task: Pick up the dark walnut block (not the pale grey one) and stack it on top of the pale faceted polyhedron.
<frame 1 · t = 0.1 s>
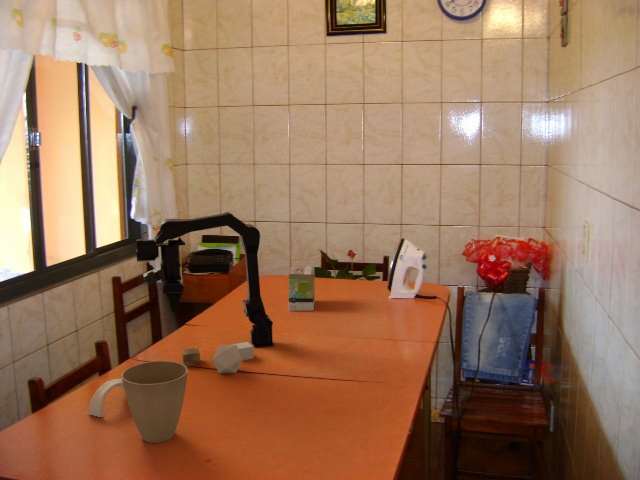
hand: (173, 308, 220), 15 cm above the table, tool pointing down, fingers open, 9 cm apart
walnut block: (191, 363, 212), on the table
pale faceted polyhedron: (228, 372, 205), on the table
grey block: (243, 357, 217), on the table
plant pot: (158, 436, 164), on the table
tea box: (302, 306, 275), on the table
white curved arch: (129, 401, 185), on the table
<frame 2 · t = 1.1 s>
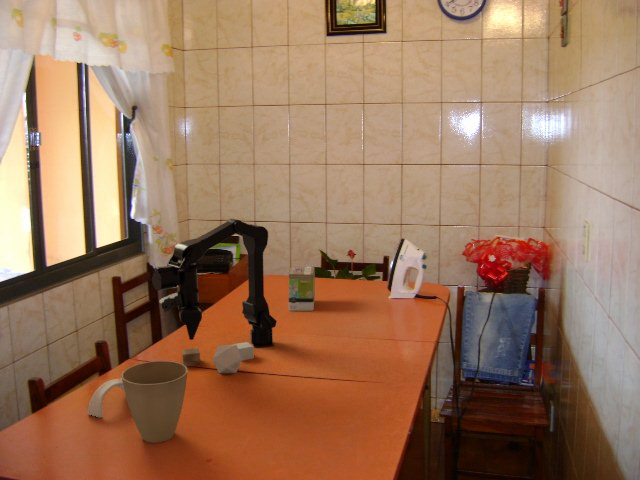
hand: (190, 335, 211), 9 cm above the table, tool pointing down, fingers open, 9 cm apart
nothing on the table moved.
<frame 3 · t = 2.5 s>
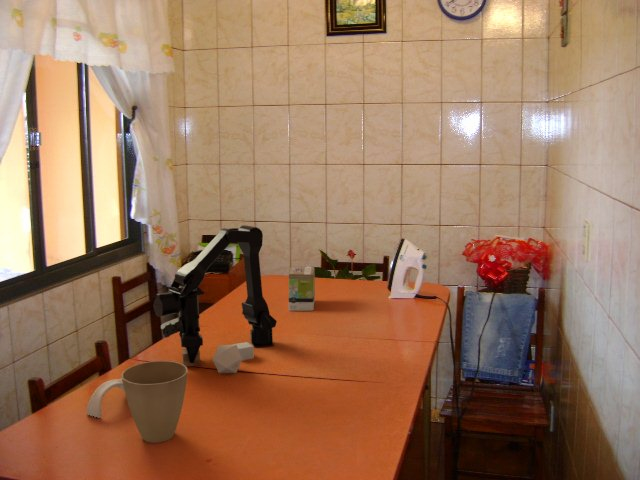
hand: (191, 359, 212), 1 cm above the table, tool pointing down, fingers closed on walnut block, 5 cm apart
walnut block: (191, 363, 212), on the table, touching gripper
everything else where it was.
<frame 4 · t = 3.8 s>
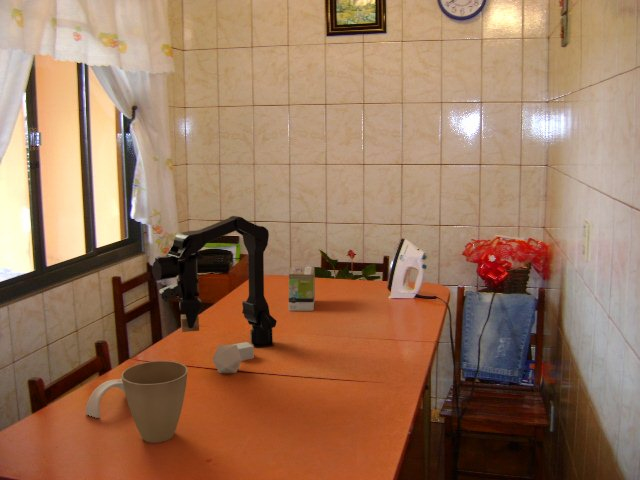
hand: (190, 325, 210), 12 cm above the table, tool pointing down, fingers closed on walnut block, 5 cm apart
walnut block: (190, 328, 210), point 11 cm above the table, touching gripper
everything else where it was.
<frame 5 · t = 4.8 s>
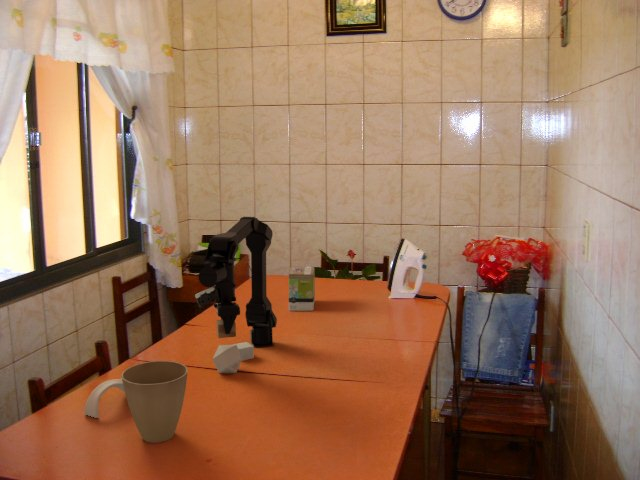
hand: (226, 331, 203), 12 cm above the table, tool pointing down, fingers closed on walnut block, 5 cm apart
walnut block: (226, 334, 203), point 11 cm above the table, touching gripper
everything else where it was.
when the fingers open (10 cm above the table, at t = 5.6 s): walnut block drops 1 cm, resting on pale faceted polyhedron.
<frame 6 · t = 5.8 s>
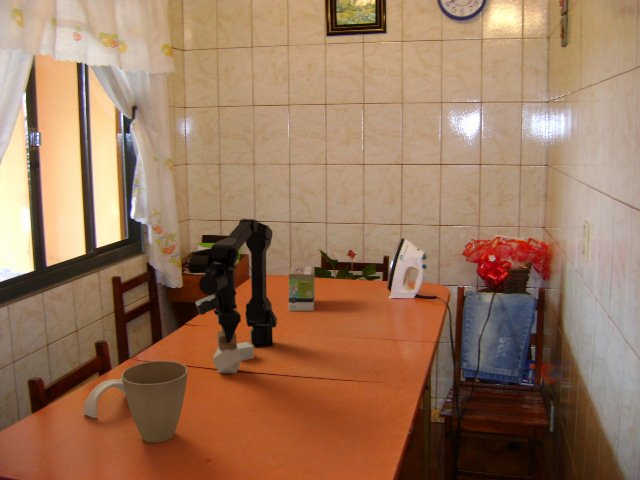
hand: (226, 338, 203), 10 cm above the table, tool pointing down, fingers open, 7 cm apart
walnut block: (227, 346, 204), point 8 cm above the table, touching pale faceted polyhedron
pale faceted polyhedron: (228, 372, 205), on the table, touching walnut block
everything else where it was.
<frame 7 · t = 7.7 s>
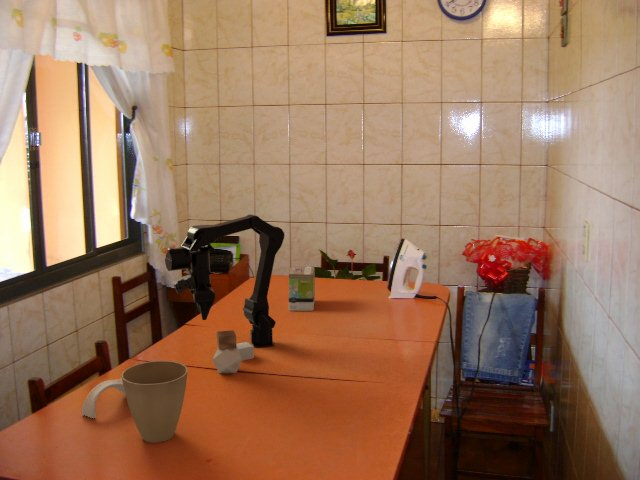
hand: (202, 315, 216), 13 cm above the table, tool pointing down, fingers open, 9 cm apart
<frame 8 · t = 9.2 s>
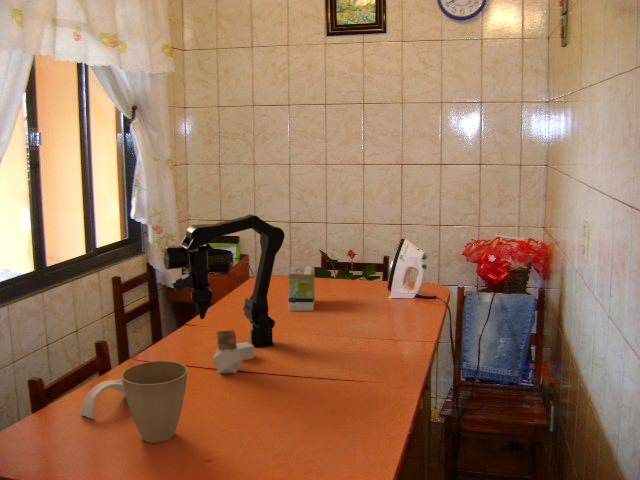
hand: (200, 314, 217), 13 cm above the table, tool pointing down, fingers open, 9 cm apart
at the end: walnut block inside the target area on the pale faceted polyhedron (0.2 cm from its centre), point 7.9 cm above the pale faceted polyhedron's base; walnut block tilted 0°; the gripper is holding nothing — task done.
